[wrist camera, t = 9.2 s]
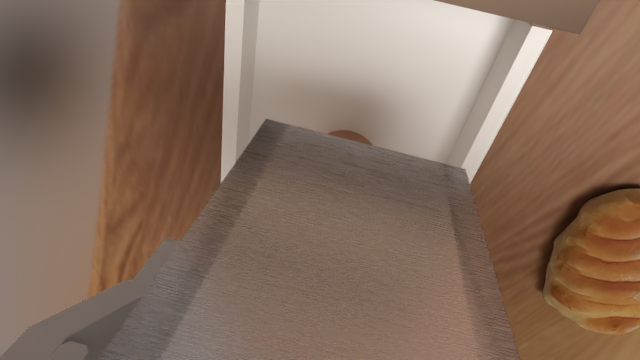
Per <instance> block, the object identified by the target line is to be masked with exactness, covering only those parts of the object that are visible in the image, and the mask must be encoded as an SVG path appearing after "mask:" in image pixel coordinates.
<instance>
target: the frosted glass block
mask: <svg viewBox="0 0 640 360" xmlns="http://www.w3.org/2000/svg"><path fill="white" fill-rule="evenodd" d="M98 360H520V357H519V354H518V350H517V347H516V343H515V340H514V336H513V333H512V329H511V326H510V323H509V319H508V316H507V312H506V309H505V305H504V302H503V298H502V295H501V291H500V288H499V284H498V281H497V277H496V274H495V270H494V267H493V263H492V260H491V256H490V253H489V249H488V246H487V242H486V239H485V235H484V232H483V229H482V225H481V222H480V218H479V215H478V211H477V208H476V204H475V201H474V197H473V194H472V190H471V187H470V183H469V180H468V176H467V173H466V169H464V168H460V167H456V166H452V165H448V164H444V163H440V162H436V161H432V160H428V159H424V158H420V157H416V156H413V155H409V154H405V153H401V152H397V151H393V150H389V149H385V148H381V147H377V146H373V145H369V144H365V143H361V142H357V141H353V140H349V139H345V138H341V137H337V136H333V135H329V134H325V133H321V132H317V131H314V130H310V129H306V128H302V127H298V126H294V125H290V124H286V123H282V122H278V121H274V120H270V119H266V120H265V121H264V122H263V124H262V125H261V127H260V128H259V130H258V131H257V133H256V134H255V135H254V137H253V138H252V140H251V141H250V143H249V144H248V145H247V147H246V148H245V150H244V151H243V153H242V154H241V155H240V157H239V158H238V160H237V161H236V163H235V164H234V166H233V167H232V168H231V170H230V171H229V173H228V174H227V176H226V177H225V178H224V180H223V181H222V183H221V184H220V186H219V187H218V189H217V190H216V191H215V193H214V194H213V196H212V197H211V199H210V200H209V201H208V203H207V204H206V206H205V207H204V209H203V210H202V211H201V213H200V214H199V216H198V217H197V219H196V220H195V222H194V223H193V224H192V226H191V227H190V229H189V230H188V232H187V233H186V234H185V236H184V237H183V239H182V240H181V242H180V243H179V245H178V246H177V247H176V249H175V250H174V252H173V253H172V255H171V256H170V257H169V259H168V260H167V262H166V263H165V265H164V266H163V267H162V269H161V270H160V272H159V273H158V275H157V276H156V278H155V279H154V280H153V282H152V283H151V285H150V286H149V288H148V289H147V290H146V292H145V293H144V295H143V296H142V298H141V299H140V301H139V302H138V303H137V305H136V306H135V308H134V309H133V311H132V312H131V313H130V315H129V316H128V318H127V319H126V321H125V322H124V323H123V325H122V326H121V328H120V329H119V331H118V332H117V334H116V335H115V336H114V338H113V339H112V341H111V342H110V344H109V345H108V346H107V348H106V349H105V351H104V352H103V354H102V355H101V357H100V358H99V359H98Z"/></svg>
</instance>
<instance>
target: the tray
mask: <svg viewBox="0 0 640 360" xmlns="http://www.w3.org/2000/svg"><path fill="white" fill-rule="evenodd" d="M551 33H552V30H551V29H549V28H547V27H545V26H541V25H537V24H533V23H528V22H524V21H520V20H516V19H511V18H507V17H503V16H498V15H494V14H490V13H486V12H481V11H477V10H473V9H469V8H464V7H460V6H456V5H452V4H447V3H443V2H439V1H434V0H226V18H225V53H224V88H223V122H222V157H221V183H222V181H223V180H224V178H225V177H226V176H227V174H228V173H229V171H230V170H231V168H232V167H233V166H234V164H235V163H236V161H237V160H238V158H239V157H240V155H241V154H242V153H243V151H244V150H245V148H246V147H247V145H248V144H249V143H250V141H251V140H252V138H253V137H254V135H255V134H256V133H257V131H258V130H259V128H260V127H261V125H262V124H263V122H264V121H265V120H266V119H270V120H274V121H278V122H282V123H286V124H290V125H294V126H298V127H302V128H306V129H310V130H314V131H317V132H321V133H325V134H328V133H330V132H333V131H339V130H347V131H352V132H356V133H358V134H360V135H362V136H364V137H365V138H366V139H368V140H369V141H370V142H371V143H372V145H373V146H377V147H381V148H385V149H389V150H393V151H397V152H401V153H405V154H409V155H413V156H416V157H420V158H424V159H428V160H432V161H436V162H440V163H444V164H448V165H452V166H456V167H460V168H464V169H466V173H467V176H468V180H469V183H471V181H472V180H473V178H474V176H475V174H476V172H477V170H478V168H479V167H480V165H481V163H482V161H483V159H484V157H485V155H486V154H487V152H488V150H489V148H490V146H491V144H492V142H493V141H494V139H495V137H496V135H497V133H498V131H499V130H500V128H501V126H502V124H503V122H504V120H505V118H506V117H507V115H508V113H509V111H510V109H511V107H512V105H513V104H514V102H515V100H516V98H517V96H518V94H519V92H520V91H521V89H522V87H523V85H524V83H525V81H526V79H527V78H528V76H529V74H530V72H531V70H532V68H533V66H534V65H535V63H536V61H537V59H538V57H539V55H540V54H541V52H542V50H543V48H544V46H545V44H546V42H547V41H548V39H549V37H550V35H551Z"/></svg>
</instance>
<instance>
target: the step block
mask: <svg viewBox="0 0 640 360" xmlns="http://www.w3.org/2000/svg"><path fill="white" fill-rule="evenodd" d="M434 1H439V2H443V3H447V4H452V5H456V6H460V7H464V8H469V9H473V10H477V11H481V12H486V13H490V14H494V15H498V16H503V17H507V18H511V19H516V20H520V21H524V22H528V23H533V24H537V25H541V26H545V27H550V28H554V29H558V30H563V31H567V32H571V33H575V34H581V32H582V30H583V28H584V27H585V25H586V23H587V22H588V20H589V18H590V16H591V15H592V13H593V11H594V10H595V8H596V6H597V5H598V3H599V1H600V0H434Z"/></svg>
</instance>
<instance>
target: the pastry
mask: <svg viewBox="0 0 640 360" xmlns="http://www.w3.org/2000/svg"><path fill="white" fill-rule="evenodd" d="M545 277H546V282H545V285H544V290H543V298H544V300H545V301H546V302H547V303H548V304H549V305H551V306H553V307H555V308H556V309H557V310H558V311H559V312H560V313H561V314H562V315H564V316H566V317H568V318H570V319H572V320H573V321H574V322H575V323H576V324H577V325H578V326H580V327H582V328H584V329H586V330H589V331H593V332H598V333H603V334H616V335H623V334H627V333H630V332H632V331H634V330H635V329H639V328H640V188H638V189H622V190H617V191H613V192H610V193H606V194H603V195H600V196H598V197H595V198H592V199H590V200H589V201H587V202H586V203H585V204H584V205H583V206H582V207H581V209H580V211H579V214H578V215H577V217H576V218H575V219H574V220H573V221H572V222H571V223H570V224H569V225H568V226H567V228H566V229H565V230H564V231H563V232H562V233H560V234H559V235H558V236H557V237H556V239H555V240H554V248H553V251H552V255H551V258H550V261H549V263H548V265H547V270H546V276H545Z"/></svg>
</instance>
